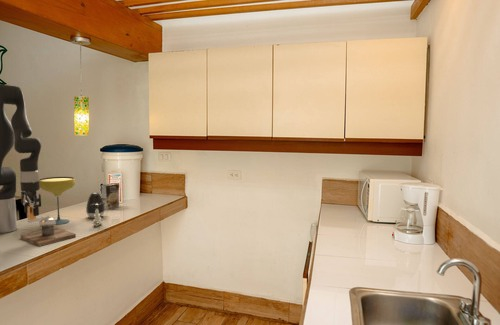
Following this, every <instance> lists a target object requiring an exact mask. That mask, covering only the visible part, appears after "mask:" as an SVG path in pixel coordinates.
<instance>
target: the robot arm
mask: <svg viewBox="0 0 500 325" xmlns="http://www.w3.org/2000/svg"><path fill="white" fill-rule="evenodd" d="M5 105H11V106H13V105H15V106H16V110H15V112H14V113H13V115H12V117H11V119H10V120H9V118H8V116H7V114H6V111H5ZM32 134H33V130H32V127H31V126H30V122H29V120H28V117H27V108H26V103H25V97H24V92H23V90H22V89H21V87H19V86H16V85H9V84H2V83H0V186H2V187H1V188H0V234H4V233H5V234H6V233H10V232H11V233H12V232H14V231H16V230H18V225H17V224H18V223H17V222H18V221H17V204H16V192H17V173H16V171H15V169H14V168H13V167H11V166H4V167H3V162H4V161H5V158H6V156H8V154H9V152H11V151H12V149H13V147H14V150H15V151H16V152H17V153H19V154H30V155H29V156H27V157H24V158H21V159H20V160H19V169H20V174H19V181H20V193H21V194H20V202H21V204H22V205H23V207H24V210H23V211H24V213H25V214H28V210H27V206H32V207H33V216H36V217H39V215H40V212H39V211H40V207H42V198H41V194H40V193H37V191H39V190H41V188H40V185H39V179H40V174H39V156H40V153H41V149H42V141H41V140H40V139H39V138H38V137H31V136H32Z"/></svg>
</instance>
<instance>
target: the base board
mask: <svg viewBox="0 0 500 325" xmlns="http://www.w3.org/2000/svg"><path fill="white" fill-rule="evenodd" d="M76 235H77V234H76V233H74V232H71V231H68V230H65V229H62V228H59V227H55V225H54V226H50V227H41V230H39V231H38V230H37V231H34V232H30V233H25V234H21V235H19V236H20V239H21V240H23V241H26V242H29V243H31V244H33V245H36V246H38V247H42V246H45V245H49V244H55V243H58V242H62V241H65V240H69V239H73V238H76Z"/></svg>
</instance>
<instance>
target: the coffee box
mask: <svg viewBox="0 0 500 325" xmlns="http://www.w3.org/2000/svg"><path fill="white" fill-rule="evenodd" d="M101 198H102V200H103V204H104V208H105V211H106V210H107V211H109V210H114V209H118V208H120V184H118V183H105V184H101Z"/></svg>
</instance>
